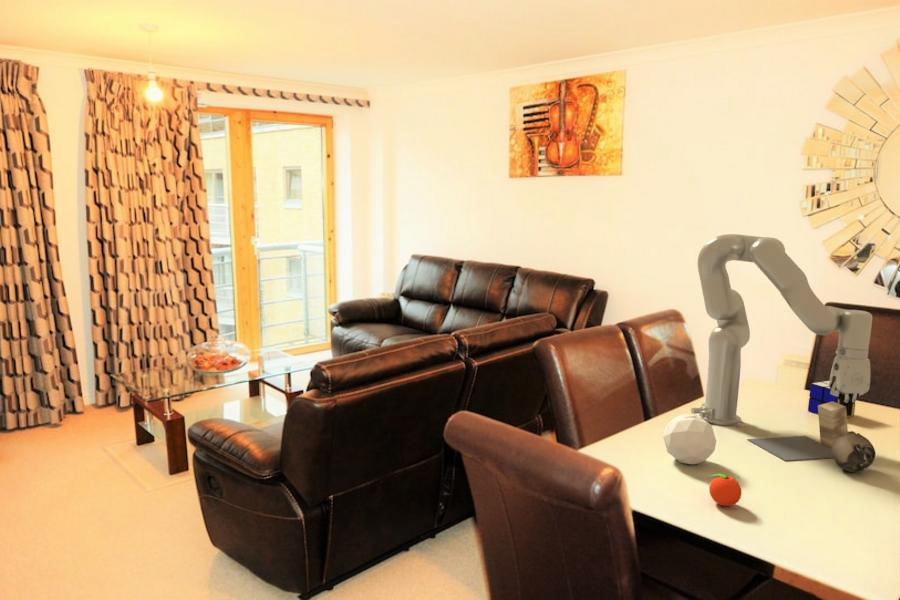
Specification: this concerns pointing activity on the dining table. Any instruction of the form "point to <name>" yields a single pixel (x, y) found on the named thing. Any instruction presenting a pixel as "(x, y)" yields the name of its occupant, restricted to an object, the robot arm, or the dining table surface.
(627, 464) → the dining table surface
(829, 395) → the puzzle cube
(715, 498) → the clementine
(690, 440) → the geodesic sphere
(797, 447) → the mat
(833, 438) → the oak block
